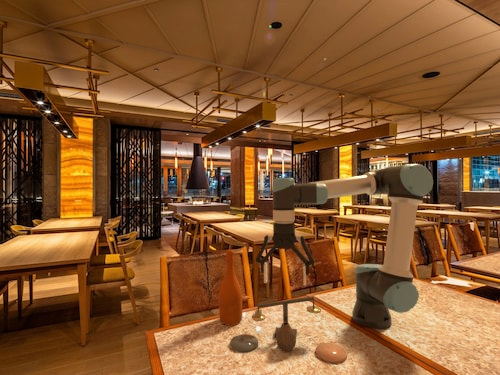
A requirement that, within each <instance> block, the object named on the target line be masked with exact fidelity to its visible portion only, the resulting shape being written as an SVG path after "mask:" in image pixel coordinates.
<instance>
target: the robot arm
mask: <svg viewBox="0 0 500 375" xmlns="http://www.w3.org/2000/svg"><path fill="white" fill-rule="evenodd" d="M433 185H434V179H433V175H432V173H431V171H429V169H428V168H427V167H426V166H424V165H423V164H419V163H406V164H401V165H395V166H388V167H384V168H381V169H377V170H373V171H368V172H365V173H364V174H362V175H356V176H349V177H343V178H334V179H328V180H327V179H325V180H318V181H311V182H306V183H295V179H294V178H293V177H276V178H274V179H273V180H272V191H271V192H272V221H273V224H272V225H273V226H272V230H273V232H272V236H271V235H268V234H266V235H264V236H263V237H264V238H263V239H264V240H263V244H262V246H261V248H260V250H259V252H258V254H257V256H256V258H255V262H256V263H259V264H260V273H261V274H263V283H264V284H267V282H268V262H266V261H267V260H268V259H269V258H270V257H271V255H272V254H273V253H274V252H275V251H276V250H277V248H278V249H280V250H289V249H291V251H293V252H294V253H295V255H296V256H297V257H298V258H299V259H300V261H301V262H302V263H303V266H302V267H303V270H302V273H303V277H302V278H303V286H304V287H305V286H307V276H309V275H310V266H311V265H314V264H315V259H314V256H313V255H312V253H311V251H310V249H309V248H308V246H307V243H306V241H305V236H304V235H301V236H296V224H295V220H296V219H295V218H296V217H295V214H296V213H295V210H296V209H295V206H296V205H297V206H299V205H323V204H324V205H325V203H327V201H328V199H333V198H342V197H348V196H354V195H357V196H358V195H362V194H366V195H368V196H373V195H388V196H387V197H388V200H389V201H390V203H391V206H390V207H391V208H390V214H389V223H388V229H387V236H386V242H385V243H386V244H385V252H384V259H383V264H377V263H363V264H358V265H356V267H355V273H354V274H355V294H356V295H355V296H356V297H355V303H354V306H353V309H352V314H351V315H352V316H351V317H352V320H353V322H355V323H357V324H358V325H361V326H364V327H365V328H371V329H386V328H388V327H391V326H392V323H393V322H392V321H393V319H392V315H391V312H390V310H391V311H393V312H394V313H395V312H396V313H398V314H400V313H401V314H403V313H404V314H405V313H407V312H409V311H411V310H412V309H414V308H415V306H416V305H417V303H418V301H419V294H420V293H419V290H418V288H417V287H416V285H415V284H414V283H413V282H414V281H413V280H414V274H412V272H411V271H410V269H411V268H410V266H411V260H412V252H413V251H412V250H413V242H414V236H415V228H416V221H417V213H418V206H419V205H421V204H422V203H424V197H425V196H426V195H428V194H429V193H430V192H431V191H432V189H433ZM271 240H272V242H273V243H274V245H273V246H272V247H271V248H270V249H269V251H268V252H267V253H266V254H265V255H264V257H263V258H262V256H263V254H264V252H265V251H266V250H265V249H266V248H267V246H268V244H269V243H270V242H271ZM297 241H298V243H299V244H301V247H302V249H303V251H304V253H305V254H306V256H307V258H306V256H305V255H304V254H303V253H302V252H301V251H300V249H299V248H298V247H297V245H296V242H297Z"/></svg>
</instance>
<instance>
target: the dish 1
mask: <svg viewBox="0 0 500 375" xmlns="http://www.w3.org/2000/svg"><path fill="white" fill-rule="evenodd" d="M229 346H230V348H231V349H232V350H233V351H235V352H238V353H249V352H253V351H254V350H256V349H257V348H258V346H259V340H258V338H257V337H256V336H254V335H253V334H252V335H251V334H245V333H243V334H242V333H241V334H237V335H235V336H233V337H232V338H231V339H230V345H229Z"/></svg>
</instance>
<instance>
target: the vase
mask: <svg viewBox="0 0 500 375" xmlns="http://www.w3.org/2000/svg"><path fill="white" fill-rule="evenodd" d="M278 328H279V329H278V331H277V334H276V338H275V341H276V345H277V347H278V349H279V350H280V351H281V352H284V353H290V352H293V350H294V348H295V346H296V344H297V337H296V335H295V332H294V330H293V329H294V328H292V326H291V324H290V323H289V321H288V322H283V321H282V323H281V325H280V326H279V327H278Z"/></svg>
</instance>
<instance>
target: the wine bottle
mask: <svg viewBox="0 0 500 375" xmlns="http://www.w3.org/2000/svg"><path fill="white" fill-rule="evenodd" d="M225 254H226V258H225V260H226V270H225V273H224V277H223V280H222V282H221V286H220V289H219V295H218V309H219V321H220V323H222V324H224V325H226V326H233V325H237V324H239V323H241V322H242V320H243V292H242V291H243V290H242V287H241V285H240V283H239V280H238V277H237V276H236V272H235V267H234V260H235V256H234V255H235V251H234V250H232V249H227V250H226V251H225Z"/></svg>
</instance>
